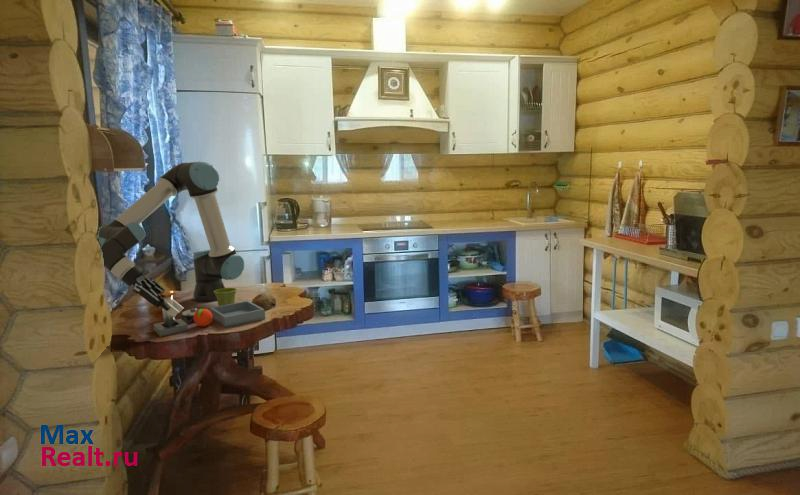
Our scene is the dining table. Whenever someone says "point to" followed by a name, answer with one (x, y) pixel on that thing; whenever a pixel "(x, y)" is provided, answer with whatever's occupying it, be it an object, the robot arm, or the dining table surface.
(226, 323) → the tray
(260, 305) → the bread roll
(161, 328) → the tensioner
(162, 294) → the lock pin
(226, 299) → the plant pot
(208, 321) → the red tomato
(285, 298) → the dining table surface
